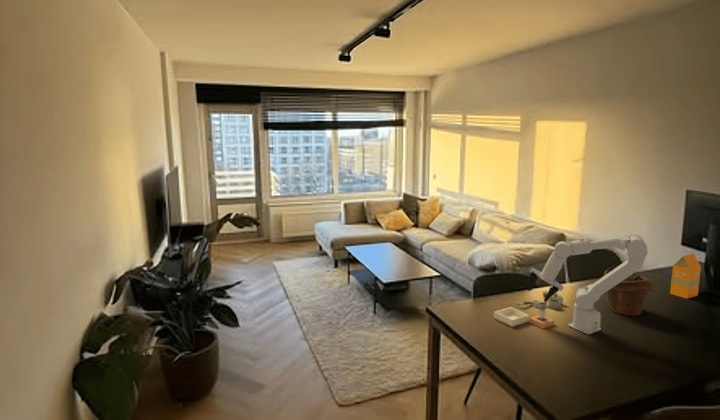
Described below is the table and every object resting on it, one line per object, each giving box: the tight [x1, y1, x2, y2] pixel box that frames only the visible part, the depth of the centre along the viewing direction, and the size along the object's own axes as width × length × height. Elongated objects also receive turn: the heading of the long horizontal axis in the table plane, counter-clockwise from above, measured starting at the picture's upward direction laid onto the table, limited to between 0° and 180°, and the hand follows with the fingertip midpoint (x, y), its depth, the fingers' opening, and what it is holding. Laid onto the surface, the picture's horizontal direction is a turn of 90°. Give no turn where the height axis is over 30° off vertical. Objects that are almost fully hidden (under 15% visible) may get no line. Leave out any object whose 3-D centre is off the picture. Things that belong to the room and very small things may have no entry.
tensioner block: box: [528, 314, 556, 329], centre depth 178 cm, size 7×7×2 cm
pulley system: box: [516, 290, 564, 311], centre depth 199 cm, size 27×5×15 cm
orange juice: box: [669, 253, 702, 300], centre depth 205 cm, size 8×9×20 cm
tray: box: [493, 306, 530, 328], centre depth 182 cm, size 10×10×3 cm
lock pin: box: [538, 304, 548, 321], centre depth 178 cm, size 3×3×8 cm
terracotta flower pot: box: [602, 266, 655, 316], centre depth 188 cm, size 18×20×18 cm
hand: (537, 295), depth 180 cm, fingers open, 7 cm apart
